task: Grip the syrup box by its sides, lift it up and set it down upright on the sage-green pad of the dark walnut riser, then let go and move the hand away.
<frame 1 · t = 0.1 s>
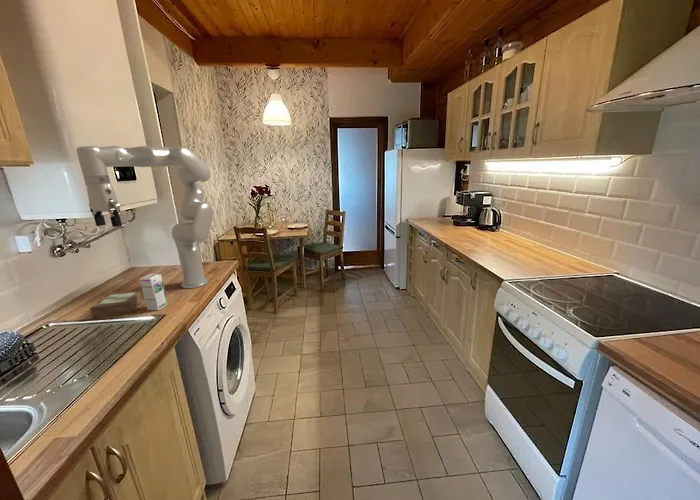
hand: (109, 225, 124), 37 cm above the countertop, tool pointing down, fingers open, 9 cm apart
riser: (120, 309, 138), on the countertop
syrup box: (158, 307, 138), on the countertop
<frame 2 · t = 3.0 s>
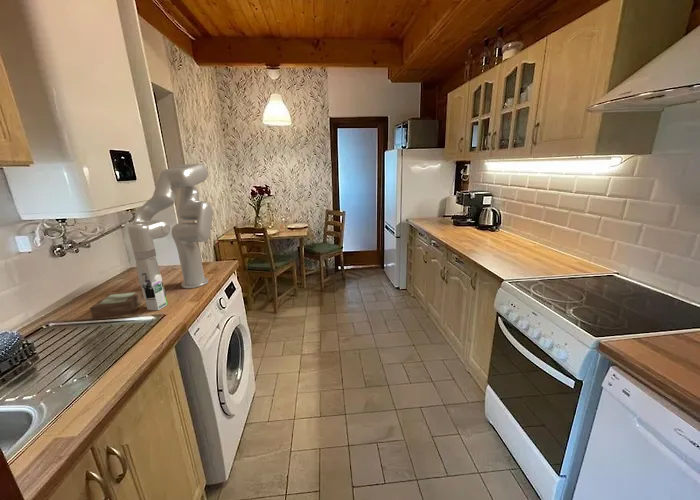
hand: (154, 293, 136), 6 cm above the countertop, tool pointing down, fingers closed on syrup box, 7 cm apart
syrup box: (158, 307, 138), on the countertop, touching gripper
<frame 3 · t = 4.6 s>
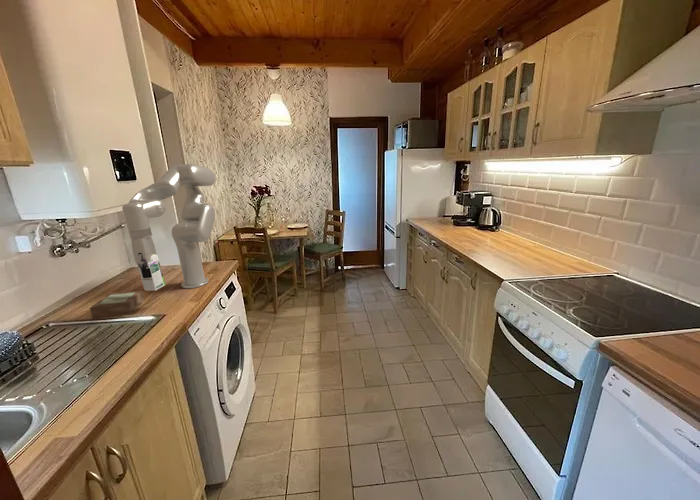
hand: (151, 273, 135), 15 cm above the countertop, tool pointing down, fingers closed on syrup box, 7 cm apart
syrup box: (155, 288, 137), point 8 cm above the countertop, touching gripper
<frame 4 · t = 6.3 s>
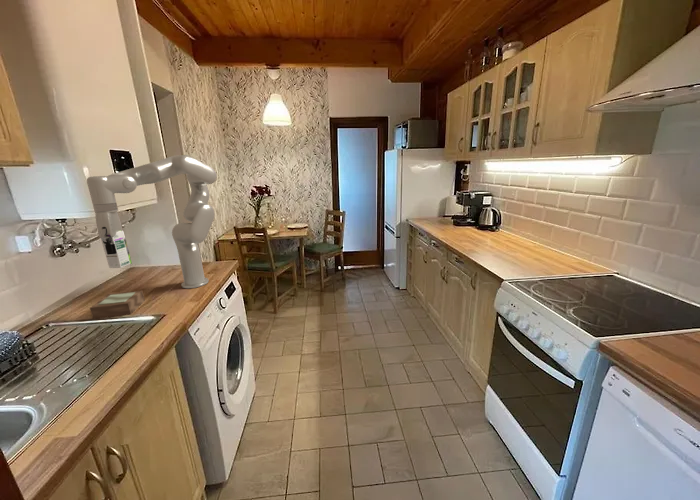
hand: (116, 251, 131), 26 cm above the countertop, tool pointing down, fingers closed on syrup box, 7 cm apart
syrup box: (120, 266, 132), point 19 cm above the countertop, touching gripper
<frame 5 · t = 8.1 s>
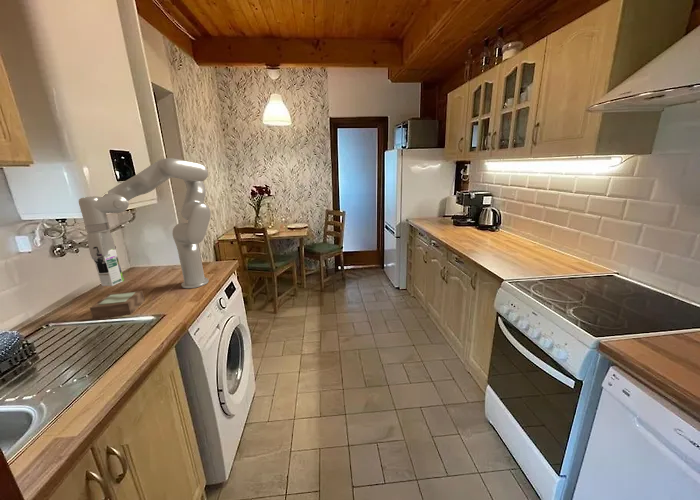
hand: (109, 269, 133), 18 cm above the countertop, tool pointing down, fingers closed on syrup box, 7 cm apart
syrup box: (113, 284, 135), point 12 cm above the countertop, touching gripper
when the fingers open (13 cm above the countertop, at t = 9.6 s): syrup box drops 1 cm, resting on riser.
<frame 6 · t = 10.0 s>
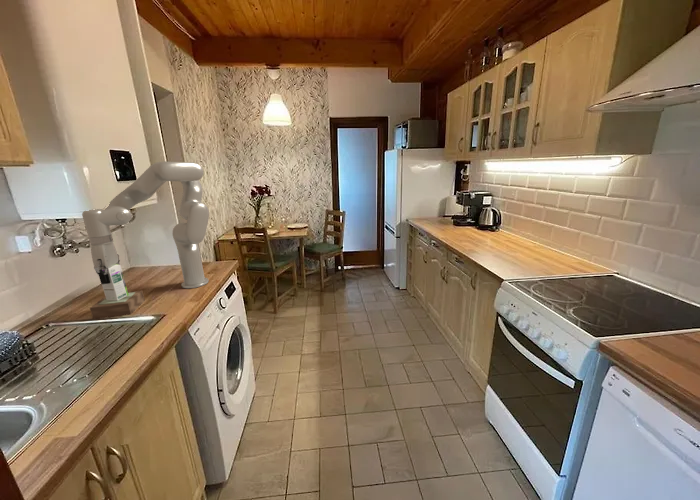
hand: (112, 279, 134), 14 cm above the countertop, tool pointing down, fingers open, 9 cm apart
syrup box: (117, 298, 137), point 5 cm above the countertop, touching riser
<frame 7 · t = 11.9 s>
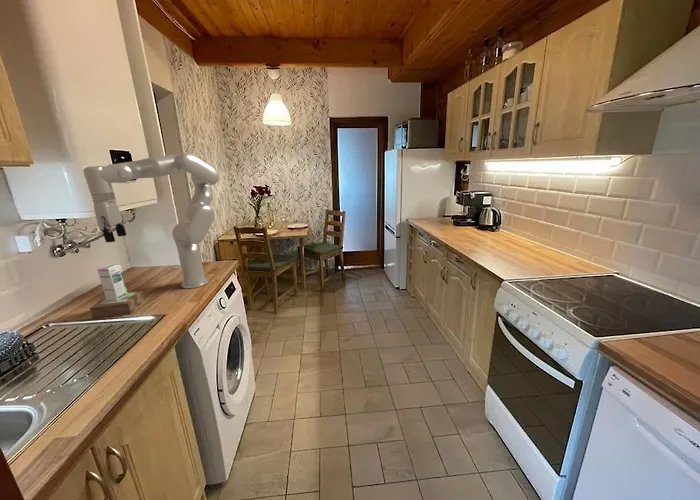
hand: (116, 238, 134), 30 cm above the countertop, tool pointing down, fingers open, 9 cm apart
nothing on the countertop moved.
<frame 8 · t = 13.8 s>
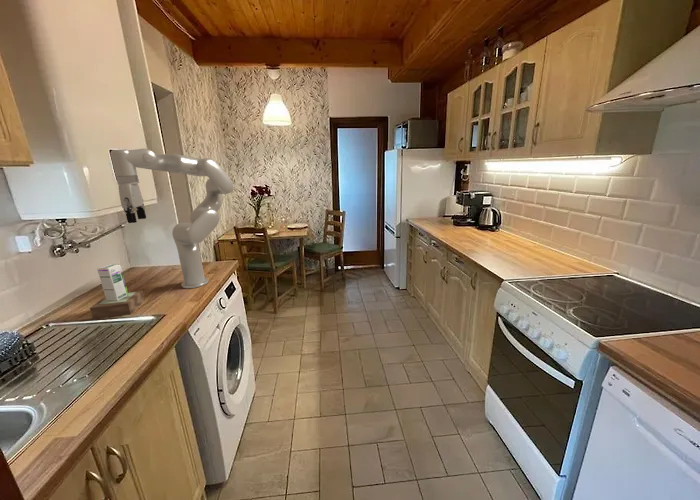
hand: (137, 220, 139), 36 cm above the countertop, tool pointing down, fingers open, 9 cm apart
nothing on the countertop moved.
at the end: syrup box inside the target area on the riser (0.2 cm from its centre), point 5.1 cm above the riser's base; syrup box tilted 0°; the gripper is holding nothing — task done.
